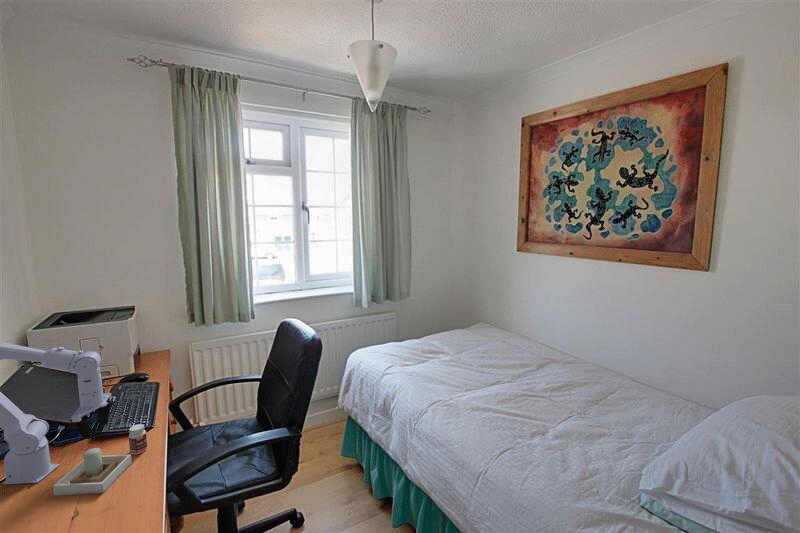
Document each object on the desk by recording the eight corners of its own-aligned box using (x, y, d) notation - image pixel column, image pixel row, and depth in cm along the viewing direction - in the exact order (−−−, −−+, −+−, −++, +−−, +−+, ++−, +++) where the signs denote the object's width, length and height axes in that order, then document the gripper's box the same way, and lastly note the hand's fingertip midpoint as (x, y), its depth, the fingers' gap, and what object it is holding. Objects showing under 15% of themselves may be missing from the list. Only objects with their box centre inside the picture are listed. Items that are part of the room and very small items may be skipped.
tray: (54, 495, 106) (52, 486, 105) (87, 465, 119) (86, 456, 118) (103, 493, 107) (102, 483, 106) (131, 463, 120) (130, 454, 119)
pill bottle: (138, 456, 123) (136, 432, 122) (126, 454, 124) (124, 430, 123) (151, 447, 128) (148, 424, 127) (139, 445, 129) (137, 422, 128)
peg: (82, 481, 111) (79, 456, 110) (93, 472, 115) (90, 447, 113) (96, 481, 111) (93, 456, 110) (106, 472, 115) (104, 447, 114)
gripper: (87, 401, 111) (92, 444, 113) (119, 380, 125) (123, 418, 127) (61, 402, 110) (67, 445, 112) (96, 380, 125) (101, 419, 127)
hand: (95, 431), depth 120 cm, fingers open, 7 cm apart
